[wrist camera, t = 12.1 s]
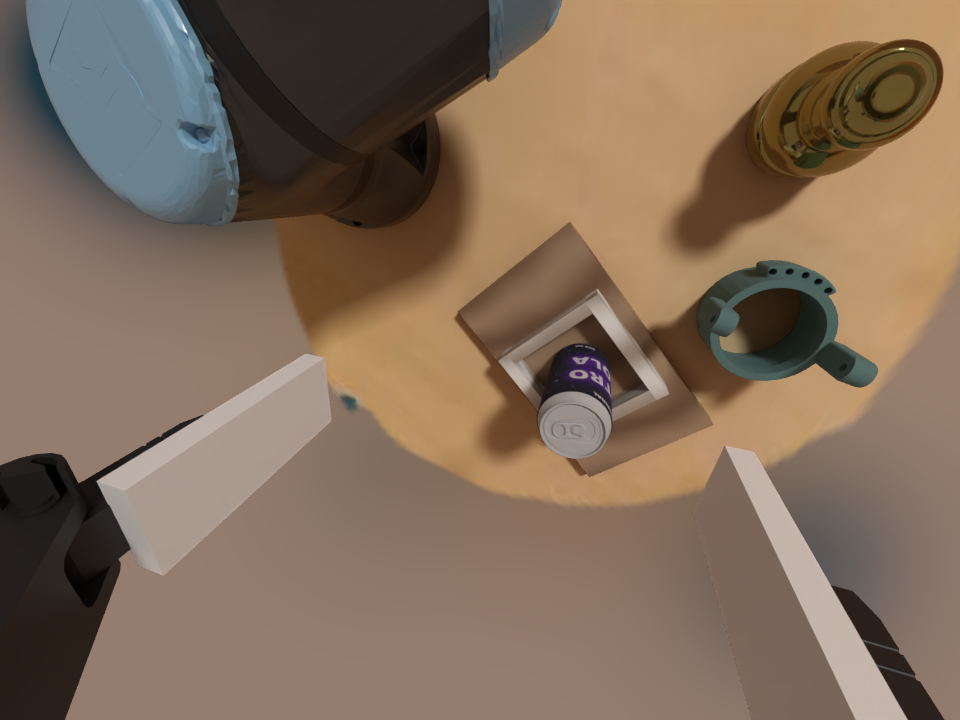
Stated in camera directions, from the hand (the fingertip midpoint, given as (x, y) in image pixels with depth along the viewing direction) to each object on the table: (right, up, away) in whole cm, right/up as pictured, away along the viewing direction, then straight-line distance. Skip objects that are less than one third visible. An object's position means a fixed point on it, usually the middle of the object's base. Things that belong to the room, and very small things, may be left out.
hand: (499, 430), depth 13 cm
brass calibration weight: (+23, +20, +16) cm, 34 cm away
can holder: (+10, +2, +27) cm, 29 cm away
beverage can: (+10, +2, +26) cm, 28 cm away
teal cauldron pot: (+24, +7, +21) cm, 33 cm away
